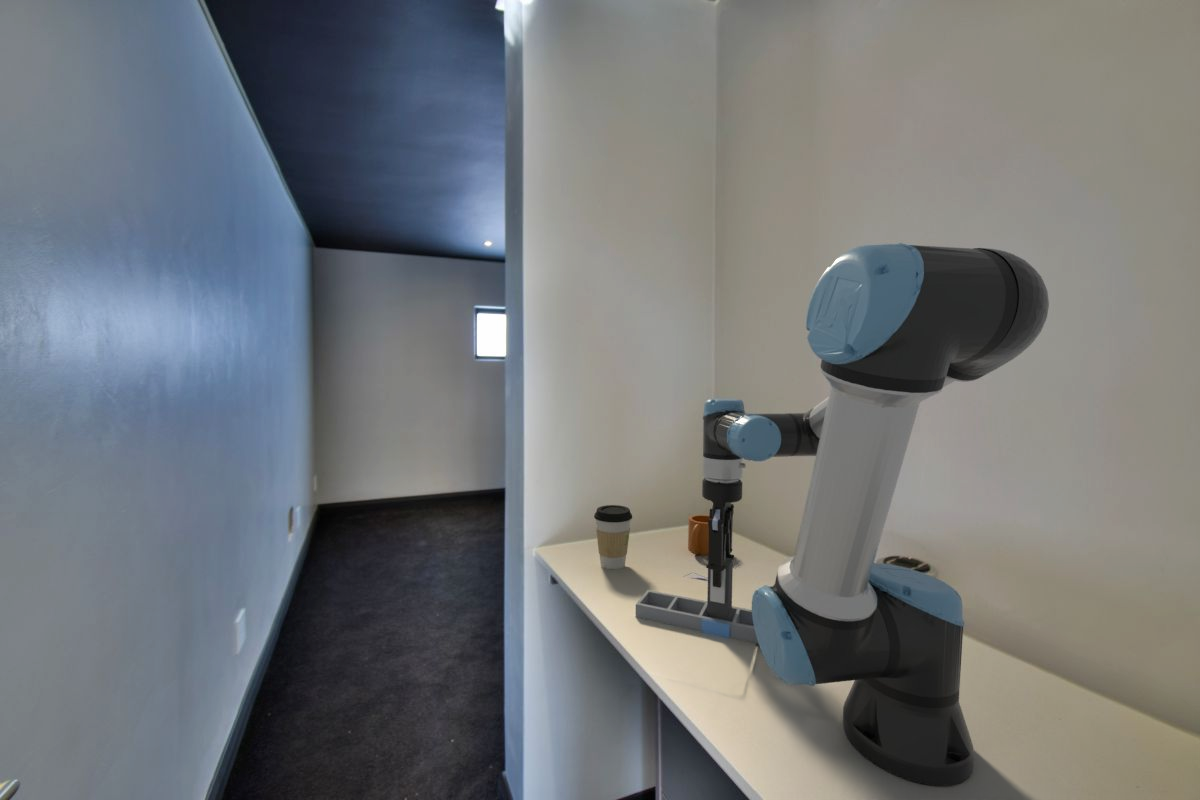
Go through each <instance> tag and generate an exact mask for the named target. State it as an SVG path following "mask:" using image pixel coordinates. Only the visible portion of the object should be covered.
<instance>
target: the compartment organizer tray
mask: <svg viewBox="0 0 1200 800" xmlns="http://www.w3.org/2000/svg"><path fill="white" fill-rule="evenodd" d="M635 618H638V619H639V618H640V619H642V620H648V621H653V622H657V623H661V624H666V625H670V626H675V627H679V628H683V629H689V630H694V631H699V632H701V633H704V634H708V635H712V636H717V637H723V638H727V639H730V638H732V639H735V640H740V641H745V642H749V643H754V644H755V645H754V646H755V647H758V648H760V646H759V643H758V640H757V636H756V632H755V628H754V624H753V618H752V609H749V608H743V607H739V606H734V605H732V609H731V611H730V614H729V616H728V617H726V616H721V615H716V614H711V613H707V600H701V599H696V598H691V597H687V596H682V595H676V594H671V593H666V592H661V591H656V590H651V589H647V590H646V591H645V592H644V593H643V595H642V596H641V597H640V598H639V600H638V601H637V602H636V603H635Z"/></svg>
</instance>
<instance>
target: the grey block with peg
mask: <svg viewBox="0 0 1200 800" xmlns="http://www.w3.org/2000/svg"><path fill="white" fill-rule="evenodd" d="M725 554H726V551H725ZM733 563H734V560H733V559H732V558H725V563H724V566H725V569H726V577H725V603H724V604H723V603H718V602H713V601H710V577H711V569H709V568H707V578H708V581H707V598H706V599H707V600H706V601H707V613H711V614H716V615H721V616H726V617H728V616H729V614H730V611H731V609H732V606H733V568H734V567H733V566H734V565H733Z"/></svg>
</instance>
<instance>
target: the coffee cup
mask: <svg viewBox="0 0 1200 800" xmlns="http://www.w3.org/2000/svg"><path fill="white" fill-rule="evenodd" d="M593 517H594V519H595V525H596V527H595V530H596V538H597V548H598V554H599V560H600V562H599V563H600V568H601V569H608V570H619V569H622V568H625V566H626V559H627V555H628V546H629V539H630V530H631V527H630V525H631V520H632V519H633V514H632V513H631V509H630V508H629V507H627V506H625V505H619V504H618V505H617V504H607V505H602V506H598V507H597V508H596V512H595V513H594V516H593Z"/></svg>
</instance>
